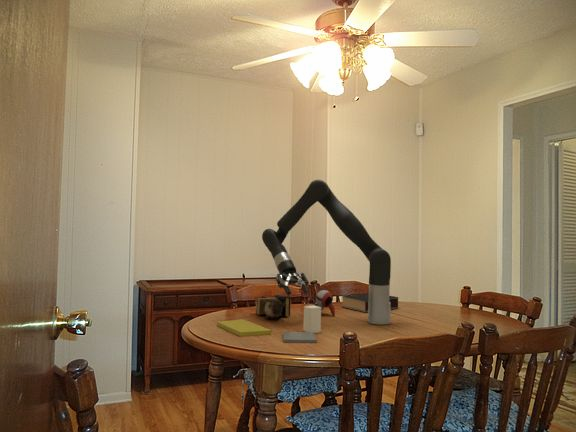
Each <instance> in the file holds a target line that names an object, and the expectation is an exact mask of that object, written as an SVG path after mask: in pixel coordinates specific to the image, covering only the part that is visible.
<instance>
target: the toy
mask: <svg viewBox="0 0 576 432" xmlns="http://www.w3.org/2000/svg"><path fill="white" fill-rule="evenodd" d="M333 300H334V296H333V294H332V292H330V291H329V290H326V289H322V290H319V291H318V292H317V293H316V296H315V300H314V298H310V299H309V300H307V301H306V302H305V304H307V303H308V304H309V305H311V306H312V305H314V306H318V307H321V312H322V311H323V310H324V309H325V308H329V310H330V313H331V315H332V317H335V316H336V315H335V314H336V312H335V306H334V305H333Z"/></svg>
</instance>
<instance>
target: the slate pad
mask: <svg viewBox="0 0 576 432" xmlns="http://www.w3.org/2000/svg"><path fill="white" fill-rule="evenodd" d="M282 337H283V343H300V344H301V343H304V344H305V343H307V344H309V343H314V344H317V341H318V339H317V337H316V335H315V333H314V332H305V331H300V332H299V331H282Z"/></svg>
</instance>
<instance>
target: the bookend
mask: <svg viewBox="0 0 576 432" xmlns="http://www.w3.org/2000/svg"><path fill="white" fill-rule="evenodd" d="M254 301H255V314H256V315H261V316H262V315H265V318H266V319H268V320H277V319H279V318H280V317H281V316H283V317H287V316H288V317H290V316H291V297H290V295H289V296H288V295H282V294H274V297H267V296H262V295H261V296H260V297H259V298H256V299H255V300H254Z"/></svg>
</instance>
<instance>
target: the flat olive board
mask: <svg viewBox="0 0 576 432" xmlns="http://www.w3.org/2000/svg"><path fill="white" fill-rule="evenodd" d="M216 326H218V327H219V328H221V329H223V330H226V331H227V332H230V333H232V334H234V335H236V336H238V337H240V338H241V337H242V338H243V337H256V336H270V335H272V330H271V329H269V328H268V327H267V328H266V327H264V326H262V325H259V324H256V323H254V322H251V321H248V320H246V319H244V318H243V319H242V318H240V319H231V320H224V321H223V320H221V321H217V322H216Z"/></svg>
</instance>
